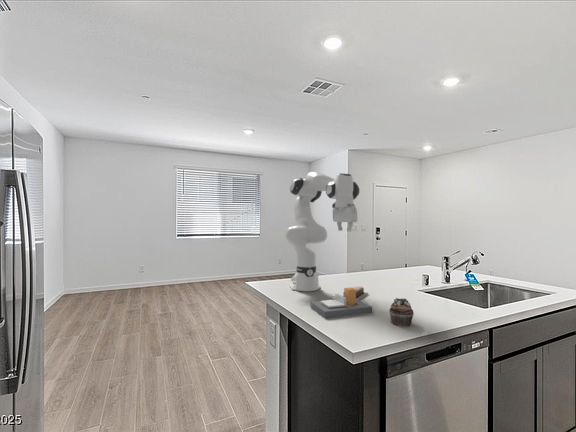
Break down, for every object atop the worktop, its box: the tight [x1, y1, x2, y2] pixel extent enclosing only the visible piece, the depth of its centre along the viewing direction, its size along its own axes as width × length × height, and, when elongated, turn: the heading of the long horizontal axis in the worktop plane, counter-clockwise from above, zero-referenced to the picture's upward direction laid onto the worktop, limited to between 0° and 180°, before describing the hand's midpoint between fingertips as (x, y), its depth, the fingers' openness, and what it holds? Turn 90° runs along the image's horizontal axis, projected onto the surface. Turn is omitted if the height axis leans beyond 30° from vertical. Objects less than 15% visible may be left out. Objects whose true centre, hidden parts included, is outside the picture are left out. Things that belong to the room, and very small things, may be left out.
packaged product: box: [342, 286, 369, 301], centre depth 167 cm, size 18×5×10 cm
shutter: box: [320, 293, 346, 308], centre depth 141 cm, size 9×9×4 cm
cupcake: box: [388, 297, 415, 328], centre depth 125 cm, size 10×10×10 cm
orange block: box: [343, 287, 356, 306], centre depth 144 cm, size 4×4×10 cm
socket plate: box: [310, 299, 373, 319], centre depth 142 cm, size 16×24×3 cm, turn 108°
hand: (344, 231), depth 155 cm, fingers open, 8 cm apart
